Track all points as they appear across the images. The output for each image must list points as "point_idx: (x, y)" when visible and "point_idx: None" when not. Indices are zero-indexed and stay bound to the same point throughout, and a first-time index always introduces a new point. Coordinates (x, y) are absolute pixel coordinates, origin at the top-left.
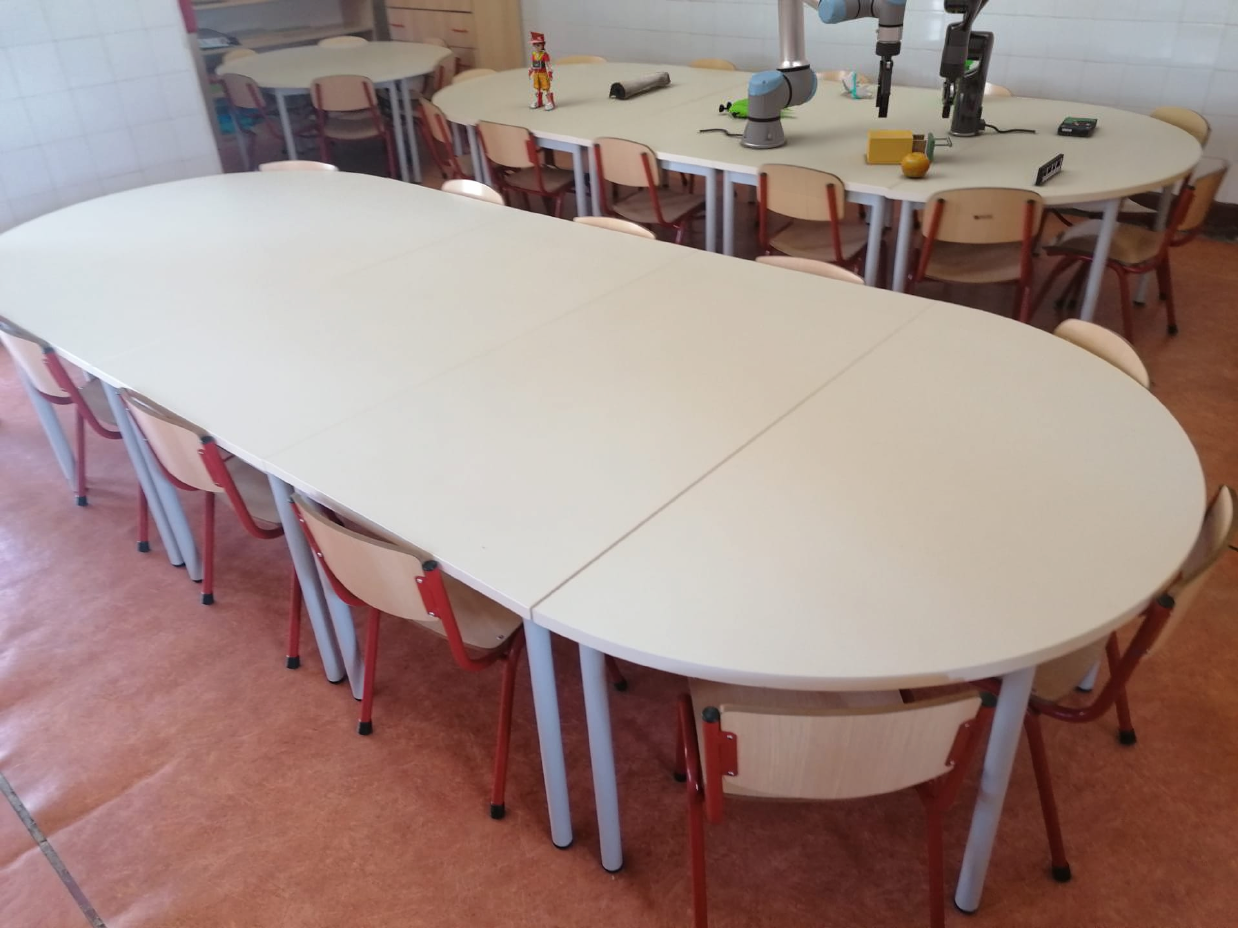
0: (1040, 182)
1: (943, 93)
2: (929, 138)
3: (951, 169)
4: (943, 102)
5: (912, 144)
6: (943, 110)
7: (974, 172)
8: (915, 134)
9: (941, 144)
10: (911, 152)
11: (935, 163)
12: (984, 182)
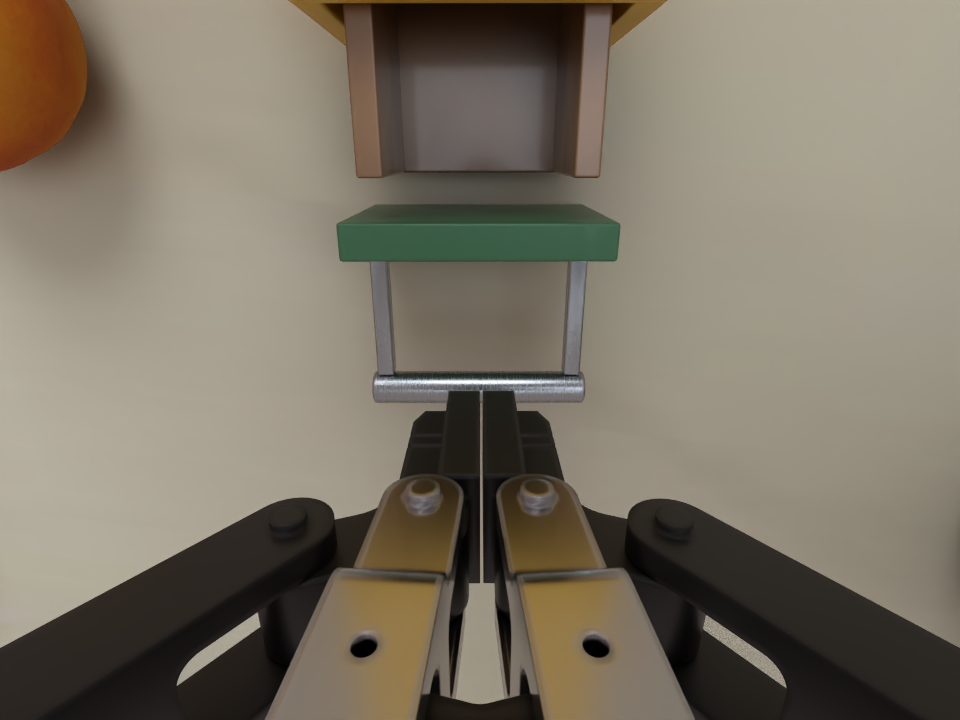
0: None
1: (532, 658)
2: (490, 220)
3: (256, 344)
4: (499, 510)
5: (304, 12)
6: (445, 444)
7: (215, 462)
8: (600, 70)
9: (375, 316)
10: (330, 32)
11: None
12: (34, 486)
